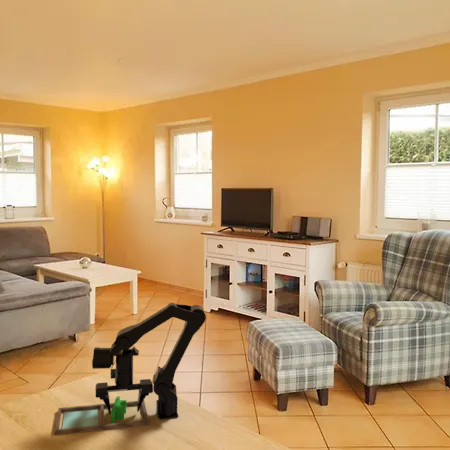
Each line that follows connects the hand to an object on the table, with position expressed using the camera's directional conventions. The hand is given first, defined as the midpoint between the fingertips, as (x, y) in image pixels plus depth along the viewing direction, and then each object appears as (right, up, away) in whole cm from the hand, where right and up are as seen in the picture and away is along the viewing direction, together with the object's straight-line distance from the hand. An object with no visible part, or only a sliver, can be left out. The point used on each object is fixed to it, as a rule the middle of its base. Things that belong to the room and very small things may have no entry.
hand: (124, 412), depth 162 cm
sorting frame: (-7, -1, -2) cm, 7 cm away
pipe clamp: (-2, -2, 0) cm, 2 cm away
